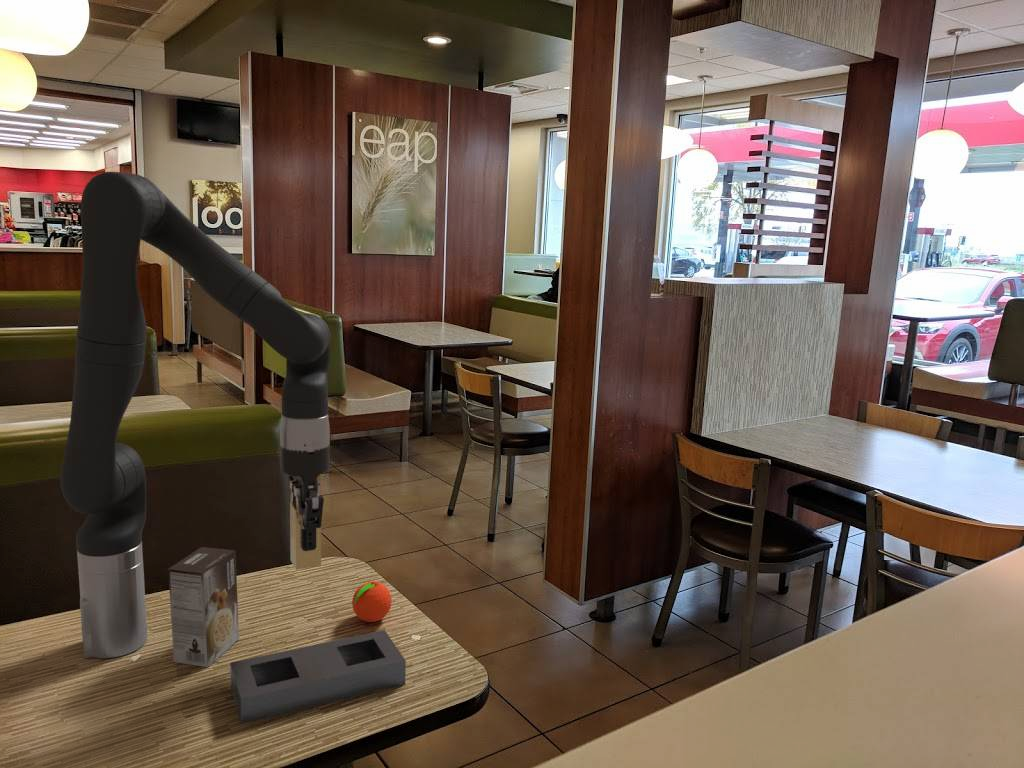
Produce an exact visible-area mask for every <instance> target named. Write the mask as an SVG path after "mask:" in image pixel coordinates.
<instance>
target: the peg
mask: <svg viewBox="0 0 1024 768" xmlns="http://www.w3.org/2000/svg"><path fill="white" fill-rule="evenodd" d="M302 509H305V507H302ZM289 512H290V513H289V515H290V516H289V525H290V526H289V527H290V529H289V530H290V531H289V532H290V534H289V535H290V545H289V546H290V562H291V563H292V565H293V567H294V568H295V570H304V569H309V568H316V567H322V527H321V528H316V549H315V550H310V551H303V550H302V544H301V515H300V514H298V512H297V505H296V502H295V503H292V502H291V501H290V502H289ZM312 520H313V518H310V519H309V521H312Z"/></svg>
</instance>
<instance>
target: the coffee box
mask: <svg viewBox="0 0 1024 768" xmlns="http://www.w3.org/2000/svg"><path fill="white" fill-rule="evenodd" d="M236 552H237V551H236V550H231V549H224V548H215V547H214V548H213V547H206V546H201V547H199V548H198V549H196V550H195V551H193V552H191V553H190V554H188V555H187V556H186V557H184V558H183V559H181V560H180V561H178V562H177V563H175V564H174V565H172V566H171V567H169V568H168V569H167V572H168V586H169V587H168V590H169V602H170V605H169V606H170V620H171V621H170V622H171V637H172V652H173V653H172V654H173V657H172V658H173V662H174V663H177V664H183V665H190V666H191V665H192V666H197V667H203V668H209V667H210V666H212V664H214V663H215V662H216V661H217V660H218V659H219V658H220V657H221V656H222V655H223V654H225V652H227V651H228V650H229V649H231V647H232V646H233V645H234V644H235V643H236V642H237V641H239V640H240V629H239V605H238V584H237V583H238V579H237V578H238V577H237V562H236V561H237V558H236V557H237V556H236Z"/></svg>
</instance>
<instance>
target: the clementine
mask: <svg viewBox="0 0 1024 768" xmlns="http://www.w3.org/2000/svg"><path fill="white" fill-rule="evenodd" d="M392 599H393V598H392V595H391V593H390V590H389V589H388V588H387V586H386V585H384V584H382V583H380V582H378V581H368V582H364V583H363V584H360V586H358V588H357V589H356V590H355V592H354V593H353V595H352V600H351V605H352V610H353V612H354V615H356V616H357V617H358V618H359V619H360V620H361V621H363V622H367V623H375V622H378V621H380V620H382V619H384V618H385V617H387V615H388V614H389V612H390V610H391V607H392V601H393V600H392Z"/></svg>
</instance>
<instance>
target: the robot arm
mask: <svg viewBox="0 0 1024 768" xmlns="http://www.w3.org/2000/svg"><path fill="white" fill-rule="evenodd" d="M80 224H81V226H80V228H81V245H82V249H81V250H82V274H81V285H80V286H81V288H80V296H79V311H78V321H77V322H78V323H77V327H76V329H77V331H76V341H75V342H76V343H75V357H74V359H75V361H74V380H73V387H72V388H73V392H72V401H71V410H70V422H69V428H68V433H67V438H66V442H65V443H66V444H65V449H64V452H63V458H62V463H61V469H60V477H59V479H60V489H61V492H62V495H63V498H64V499H65V501H66V503H67V504H68V506H69V507H70V508H71V509H73V510H74V511H75V512H76V513H80V514H84V515H87V517H86V519H85V521H84V522H83V524H82V525H81V526H80V527H79V529H77V533H76V536H75V537H76V538H75V541H76V544H75V545H76V555H77V568H78V581H79V582H78V583H79V595H80V597H79V598H80V599H79V608H80V610H79V611H80V622H81V623H80V624H81V636H82V637H81V638H82V647H83V648H82V649H83V658H84V659H88V658H97V659H111V658H112V659H113V658H117V657H122V656H124V655H128V654H131V653H133V652H135V651H137V650H139V649H141V648H142V647H143V646H144V645H145V644H146V643H147V640H148V625H147V609H146V608H147V607H146V592H145V591H146V590H145V589H146V588H145V573H144V572H145V571H144V556H143V540H142V538H143V536H142V534H143V529H144V527H145V525H146V519H147V477H146V470H145V465H144V462H143V461H142V459H141V457H140V455H139V454H138V452H137V451H136V450H135V449H134V448H132V447H131V446H130V445H128V444H126V443H121V442H118V434H119V430H120V425H121V423H122V419H123V417H124V416H125V413H126V411H127V409H128V407H129V405H130V403H131V401H132V399H133V396H134V395H135V392H136V390H137V388H138V385H139V383H140V380H141V378H142V375H143V370H144V365H145V358H146V357H145V356H146V347H147V329H148V328H147V320H146V317H145V311H144V306H143V302H142V298H141V296H140V291H139V285H138V277H137V276H138V275H137V274H138V273H137V272H138V271H137V269H138V260H139V252H140V247H141V246H140V245H141V241H143V242H145V243H147V244H149V245H151V246H152V247H155V248H156V249H158V250H159V251H161V252H163V253H164V254H165V255H167V256H168V257H169V258H171V259H172V260H173V261H174V262H176V263H177V264H178V265H179V266H180V267H182V268H183V270H184V271H186V272H187V274H188V275H189V276H190V277H191V279H193V281H195V282H196V284H197V285H198V286H199V287H200V288H201V289H202V290H203V291H204V292H205V293H206V294H207V295H208V296H209V297H210V298H211V299H212V300H214V301H215V302H216V303H218V304H219V305H220V306H221V307H223V308H224V309H225V310H227V311H228V312H229V313H231V314H232V315H234V316H235V317H236V318H238V319H239V320H241V321H242V322H244V323H245V324H246V325H248V326H249V327H250V328H252V329H253V331H255V333H256V334H257V336H259V337H260V338H261V339H262V340H263V341H264V342H265V343H267V344H268V345H269V346H270V348H272V350H274V351H275V352H276V353H277V354H279V355H280V356H281V357H283V358H285V359H286V360H285V361H286V370H285V371H286V372H285V378H284V379H283V383H282V387H281V420H280V426H279V427H280V429H279V435H280V437H279V438H280V439H279V442H280V443H279V445H280V454H279V455H280V471H281V473H283V475H286V476H288V477H287V479H288V485H289V486H288V487H289V496H290V497H289V498H290V499H289V500H290V502H292V503H295V502H296V505H297V512H298V514H300V515H301V544H302V550H303V551H310V550H315V549H316V528H321V529H322V518H323V509H324V502H325V498H324V496H323V495H321V493H322V490H321V483H319V482H318V477H319V476H320V475H323V474H326V473H327V472H328V471H329V470H330V467H331V466H330V465H331V464H330V461H331V456H330V455H331V454H330V453H331V451H330V450H331V449H330V447H331V445H330V441H331V440H330V439H331V438H330V437H331V430H330V429H331V428H330V427H331V426H330V421H329V388H328V387H329V386H328V377H329V371H330V361H331V359H330V358H331V349H332V348H331V347H332V345H331V344H332V338H331V337H332V335H331V331H330V328H329V326H328V324H327V323H326V321H325V320H324V319H323V318H322V317H320V316H318V315H316V314H313V313H301V312H300V311H299V310H297V309H296V308H295V307H293V306H292V305H291V304H289V303H288V302H287V301H286V300H284V298H283V296H282V294H281V292H280V291H279V290H278V289H277V288H276V287H275V286H274V285H273V284H271V283H270V282H269V281H267V280H266V279H265V278H263V276H261V275H259V274H258V273H257V272H255V271H254V270H253V269H252V268H251V267H249V266H248V265H246V264H245V263H243V262H242V261H241V260H240V259H238V258H237V257H235V256H234V255H233V254H231V253H230V252H229V251H228V250H226V249H224V248H223V247H222V246H221V245H219V244H218V243H217V242H215V241H214V240H213V239H212V238H211V237H209V235H207V234H206V233H205V232H203V230H201V229H200V228H199V227H198V226H197V225H196V224H195V223H193V222H192V221H191V219H189V218H188V217H187V216H186V215H185V214H184V213H183V212H182V211H181V210H180V209H179V208H178V206H176V205H175V204H174V203H173V201H171V199H169V198H168V197H167V195H166V194H165V193H164V192H163V191H162V190H161V189H160V188H159V186H157V185H156V184H154V182H153V181H152V180H150V179H148V178H147V177H146V176H145V177H144V176H143V175H140V174H135V173H131V172H120V171H105V172H101V173H99V174H97V175H95V176H93V177H92V178H91V179H90V180H89V181H88V183H86V185H85V187H84V189H83V191H82V195H81V200H80ZM302 507H305V509H302ZM310 518H313V520H312V521H309V519H310Z"/></svg>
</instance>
